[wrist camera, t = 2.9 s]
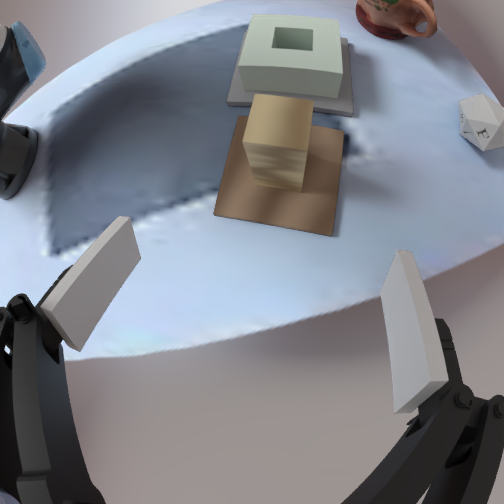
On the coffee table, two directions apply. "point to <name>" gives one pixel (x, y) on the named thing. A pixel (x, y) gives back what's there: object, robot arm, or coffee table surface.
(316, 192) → the wooden t-shaped block
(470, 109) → the die
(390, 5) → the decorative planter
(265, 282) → the coffee table surface
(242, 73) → the square socket base
